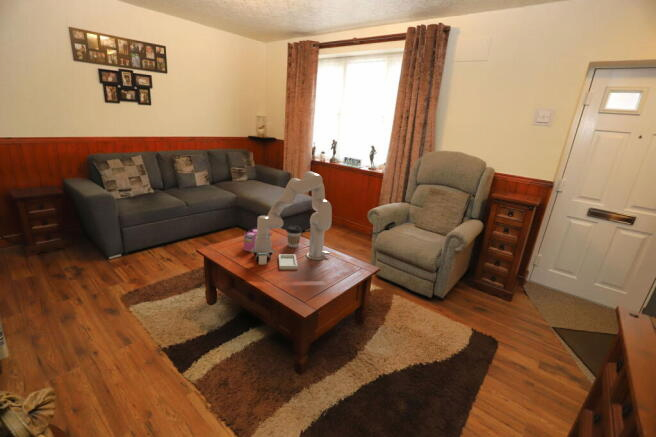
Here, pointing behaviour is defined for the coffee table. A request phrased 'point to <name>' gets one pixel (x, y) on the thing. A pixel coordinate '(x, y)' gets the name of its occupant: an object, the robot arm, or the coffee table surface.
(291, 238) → the coffee cup
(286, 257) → the tray
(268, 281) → the coffee table surface
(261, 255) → the teal-tabbed cream block
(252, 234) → the gum box
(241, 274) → the coffee table surface
